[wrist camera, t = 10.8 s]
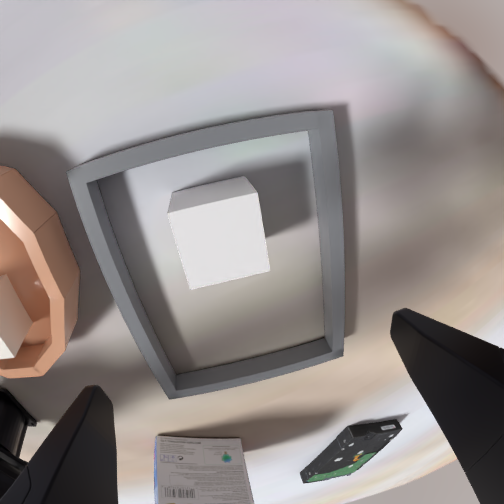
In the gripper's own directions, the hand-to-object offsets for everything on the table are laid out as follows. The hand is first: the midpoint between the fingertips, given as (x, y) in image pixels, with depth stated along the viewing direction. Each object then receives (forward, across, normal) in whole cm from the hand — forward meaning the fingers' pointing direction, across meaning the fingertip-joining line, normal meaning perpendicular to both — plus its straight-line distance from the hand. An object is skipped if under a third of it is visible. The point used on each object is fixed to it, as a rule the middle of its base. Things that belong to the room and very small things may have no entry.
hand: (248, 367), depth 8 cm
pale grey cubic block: (+12, 0, 0) cm, 12 cm away
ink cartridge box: (+12, +9, +26) cm, 30 cm away
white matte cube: (+11, +18, +2) cm, 21 cm away
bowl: (+12, +18, -1) cm, 22 cm away
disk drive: (+13, -11, +40) cm, 43 cm away
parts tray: (+12, 0, +4) cm, 13 cm away
